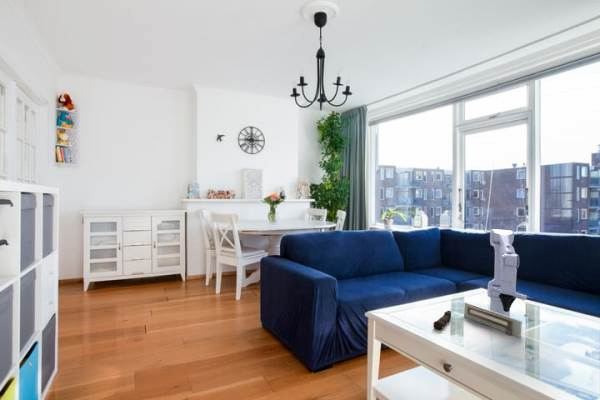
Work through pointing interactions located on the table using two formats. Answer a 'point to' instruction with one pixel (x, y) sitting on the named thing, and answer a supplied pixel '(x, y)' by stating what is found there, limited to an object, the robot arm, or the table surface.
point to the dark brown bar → (442, 321)
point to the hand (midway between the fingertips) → (506, 311)
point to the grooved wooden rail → (489, 317)
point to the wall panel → (514, 330)
